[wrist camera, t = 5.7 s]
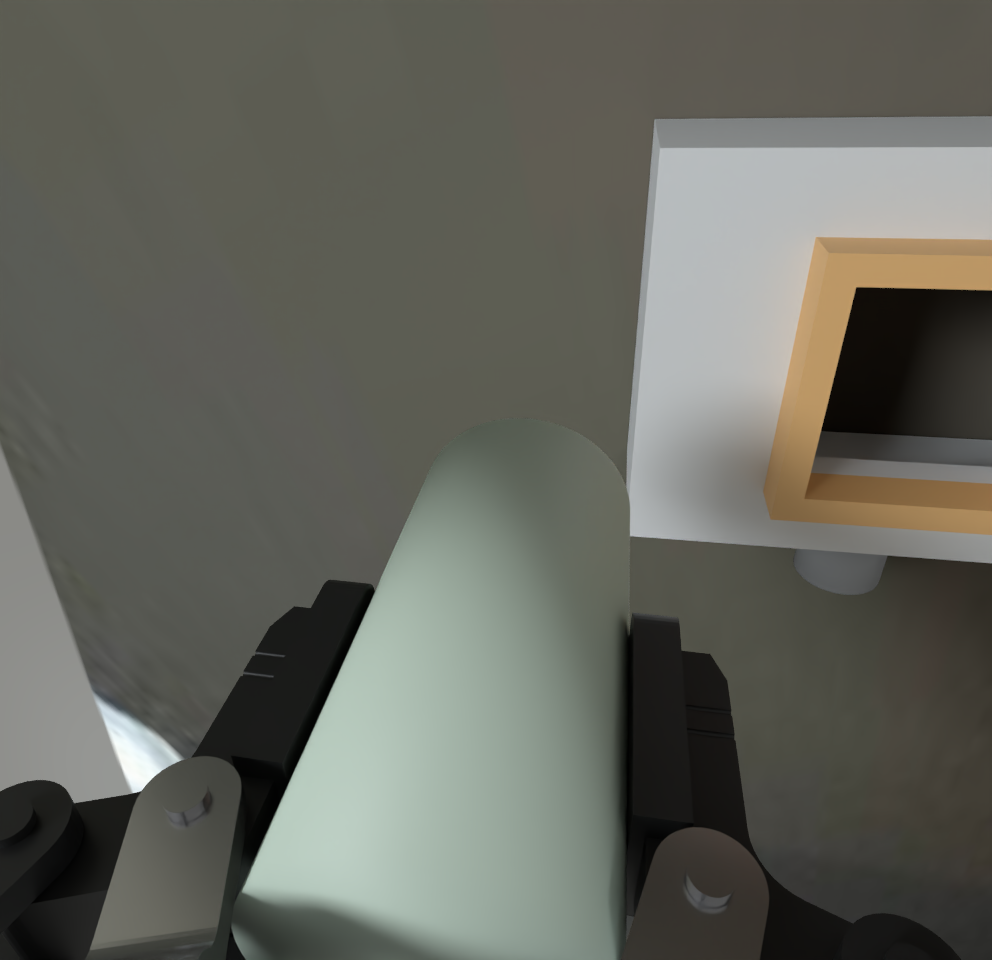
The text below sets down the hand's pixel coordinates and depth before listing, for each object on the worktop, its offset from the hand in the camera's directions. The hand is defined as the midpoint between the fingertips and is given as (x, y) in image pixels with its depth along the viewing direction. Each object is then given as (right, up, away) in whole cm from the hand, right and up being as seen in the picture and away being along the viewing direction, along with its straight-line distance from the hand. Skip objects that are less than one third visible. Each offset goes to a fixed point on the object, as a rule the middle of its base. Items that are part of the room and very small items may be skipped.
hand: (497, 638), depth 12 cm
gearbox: (+13, +7, +14) cm, 20 cm away
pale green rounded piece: (+1, +2, +3) cm, 4 cm away
